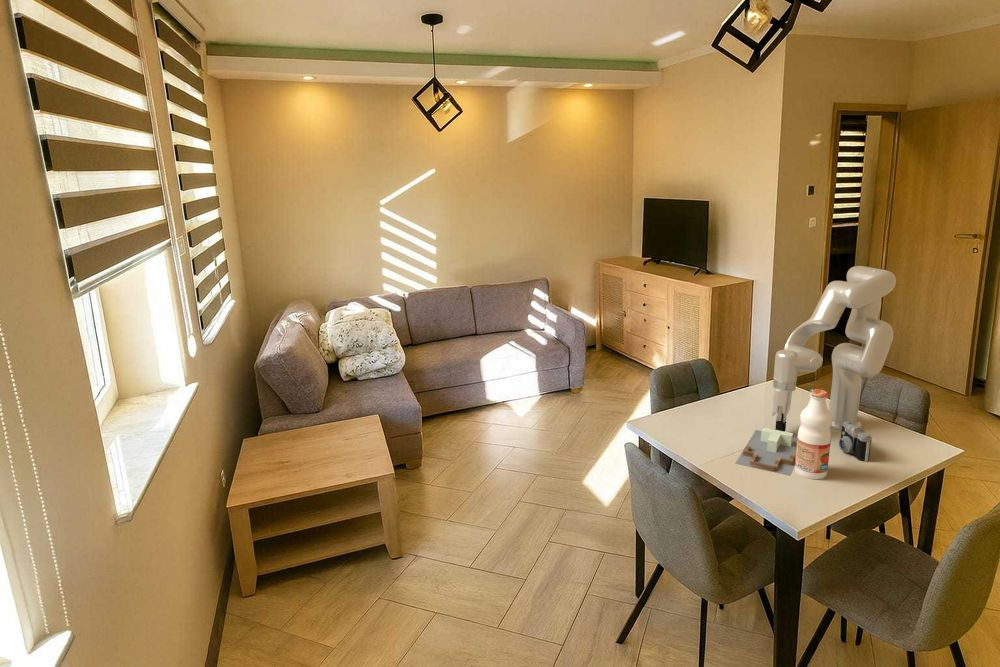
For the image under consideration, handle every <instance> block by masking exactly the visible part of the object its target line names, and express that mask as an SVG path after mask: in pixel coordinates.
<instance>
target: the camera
mask: <svg viewBox="0 0 1000 667" xmlns="http://www.w3.org/2000/svg"><path fill="white" fill-rule="evenodd" d="M872 440H873V438H872V436H871V435H870V434H868V433H867V432H866V431H865V429H864V428H863V427H862V426H861V427H860V426H857V425H853V423H851V422H849V421H848V422H844V424H842V430H841V434H840V439H839V441H838V446H839V448H840V451H842V452H844V453H847V454H849V455H850V454H851V455H852V456H853V457H854V458H855V459H856V460H857V461H860V462H865V463H866V462H869V461H870V455H871V446H872Z"/></svg>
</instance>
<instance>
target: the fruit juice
mask: <svg viewBox="0 0 1000 667" xmlns="http://www.w3.org/2000/svg"><path fill="white" fill-rule="evenodd" d="M827 399H828V392H827V391H826V390H823V389H818V388H815V389H814V388H812V389H810V391H809V401H808V404H807V405H806V407H805V408H803V409H802V411H801V412H800V415H799V420H800V426H799V428H798V430H797V431H798V432H797V436H796V438H797V448H796V459H795V466H794V471H795V474H797V475H798V476H800V477H802V478H805V479H808V480H822V479H825V478H826V477H827V476H828V470H829V460H830V452H831V451H830V450H831V442H832V441H831V440H832V432H831V424H832V415H831V413H830V412H829V409H828V407H827V402H826V400H827Z"/></svg>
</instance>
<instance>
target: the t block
mask: <svg viewBox="0 0 1000 667" xmlns="http://www.w3.org/2000/svg"><path fill="white" fill-rule="evenodd" d="M760 431H761V441H764V442H767V451H771V452H777V450H778V448H779V446H780V445H784V446H789V447H791V445H792V440H793V437H794V433H793V432H789V431H788V432H787V431H785V432H784V431H778V430H775V429H771V428H767V427H762V428H761V430H760Z"/></svg>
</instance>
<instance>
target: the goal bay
mask: <svg viewBox="0 0 1000 667" xmlns="http://www.w3.org/2000/svg"><path fill="white" fill-rule="evenodd" d="M746 445H747V444H746ZM746 445H745V447H746V448H745V447H744V448H745V449H744V448H743V450H744V451H743V450H742V452H743V456H748V457H752V458H751V460H750V465H751V467H750V468H752V467H755V468H754V469H757V468H759V469H758V470H761V469H764V470H763V471H766V470H768V471H767V472H770V471H773V472H772V473H775V472H774V471H775V470H776V471H777V469H778V467H779V465H780V463H781V464H786V465H790V466H792V464H793V461H794V459H795V454H792V453H791V455H790V458H789V459H784V458H780V457H777V459H776V461H775V463H774V465H768V464H763V463H759V462H756V460H757V458H758V453H756V452H751V451H750V449H751V445H747V446H746Z"/></svg>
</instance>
